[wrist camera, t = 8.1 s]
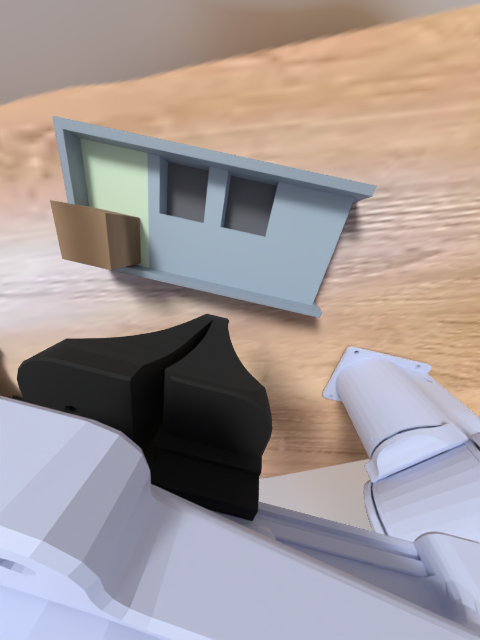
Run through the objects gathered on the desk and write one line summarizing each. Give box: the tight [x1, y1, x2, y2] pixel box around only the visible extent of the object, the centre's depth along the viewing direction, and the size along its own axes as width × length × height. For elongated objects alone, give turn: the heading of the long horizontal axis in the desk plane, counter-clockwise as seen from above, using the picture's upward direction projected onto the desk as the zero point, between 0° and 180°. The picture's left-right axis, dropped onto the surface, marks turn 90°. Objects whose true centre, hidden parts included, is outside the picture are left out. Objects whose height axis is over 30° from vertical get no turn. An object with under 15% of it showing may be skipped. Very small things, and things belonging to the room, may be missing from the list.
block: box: [50, 200, 141, 270], centre depth 16 cm, size 4×4×4 cm
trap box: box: [53, 116, 376, 318], centre depth 16 cm, size 23×10×3 cm, turn 78°
